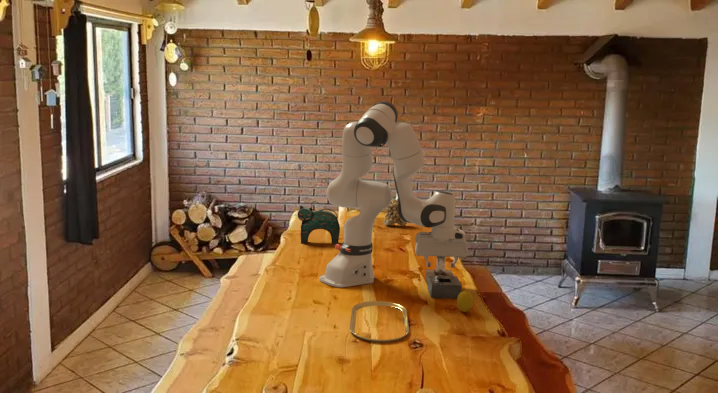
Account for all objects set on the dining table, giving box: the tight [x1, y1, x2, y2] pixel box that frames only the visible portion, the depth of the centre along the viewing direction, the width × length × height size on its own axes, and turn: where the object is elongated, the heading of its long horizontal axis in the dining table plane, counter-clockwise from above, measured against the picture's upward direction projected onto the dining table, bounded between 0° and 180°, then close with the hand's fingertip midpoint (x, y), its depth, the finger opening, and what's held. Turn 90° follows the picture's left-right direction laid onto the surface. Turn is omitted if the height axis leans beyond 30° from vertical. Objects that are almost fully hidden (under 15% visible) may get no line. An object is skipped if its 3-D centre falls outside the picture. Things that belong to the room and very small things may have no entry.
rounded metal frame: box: [349, 300, 410, 343], centre depth 225 cm, size 19×35×2 cm, turn 178°
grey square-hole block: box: [427, 275, 463, 299], centre depth 255 cm, size 11×11×5 cm
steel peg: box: [435, 256, 446, 275], centre depth 267 cm, size 3×3×11 cm
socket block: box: [424, 268, 455, 286], centre depth 267 cm, size 10×10×4 cm
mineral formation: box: [383, 198, 408, 227], centre depth 361 cm, size 8×13×15 cm, turn 93°
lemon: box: [456, 289, 474, 313], centre depth 236 cm, size 6×6×8 cm
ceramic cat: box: [297, 200, 341, 245], centre depth 321 cm, size 20×6×20 cm, turn 92°
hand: (440, 267), depth 266 cm, fingers open, 8 cm apart
